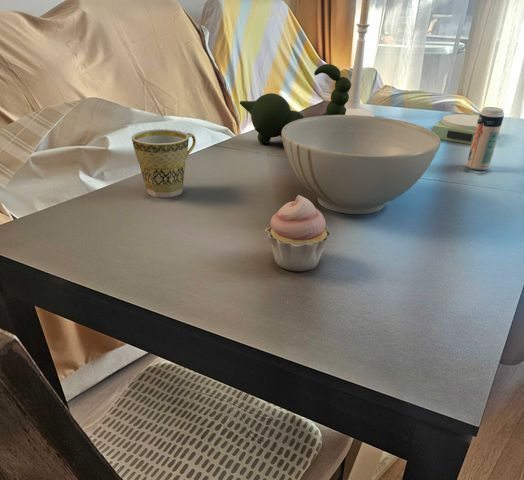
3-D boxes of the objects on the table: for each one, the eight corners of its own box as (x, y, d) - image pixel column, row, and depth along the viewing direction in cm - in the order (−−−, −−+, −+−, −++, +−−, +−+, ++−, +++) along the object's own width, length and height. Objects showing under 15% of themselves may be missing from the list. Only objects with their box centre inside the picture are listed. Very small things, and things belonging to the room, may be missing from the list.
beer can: (469, 163, 114) (484, 105, 107) (491, 167, 112) (508, 108, 105) (462, 168, 111) (478, 109, 104) (484, 173, 109) (502, 112, 102)
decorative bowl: (256, 215, 87) (257, 142, 80) (304, 170, 107) (308, 109, 100) (413, 243, 80) (431, 165, 72) (433, 189, 100) (448, 124, 92)
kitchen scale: (497, 134, 135) (502, 118, 133) (486, 147, 125) (490, 130, 123) (445, 126, 141) (448, 111, 138) (430, 138, 131) (433, 121, 128)
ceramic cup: (161, 205, 90) (155, 147, 84) (127, 191, 95) (120, 135, 89) (214, 188, 98) (212, 133, 92) (181, 175, 103) (177, 123, 97)
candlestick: (322, 117, 146) (333, -10, 128) (342, 110, 155) (355, -11, 137) (362, 124, 141) (379, -8, 123) (381, 116, 149) (400, -8, 131)
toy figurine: (338, 151, 125) (241, 134, 128) (355, 65, 114) (248, 47, 116) (335, 162, 118) (232, 143, 120) (353, 71, 106) (238, 53, 109)
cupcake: (267, 246, 78) (269, 181, 72) (327, 250, 77) (335, 185, 71) (260, 275, 70) (262, 205, 64) (327, 280, 70) (335, 210, 64)
